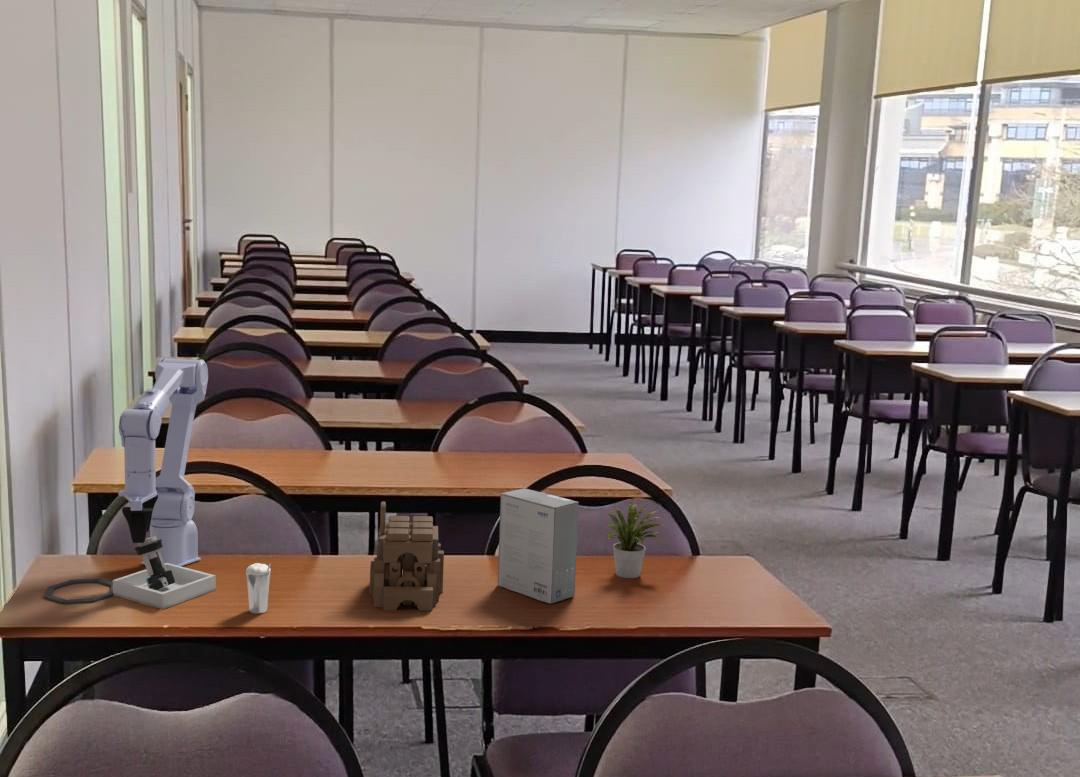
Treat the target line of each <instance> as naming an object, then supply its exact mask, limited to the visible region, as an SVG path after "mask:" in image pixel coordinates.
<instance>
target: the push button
mask: <svg viewBox="0 0 1080 777" xmlns="http://www.w3.org/2000/svg"><path fill="white" fill-rule="evenodd" d="M161 541H162V539H160V540H157V539H156V536H153V537H150V536H149V537H147V538H145V541H144V543H137V546H136V547H134V548H133V549H134V551H136V554H137V556H141V557H142V559H143V561H144V563H145V570H146V569H147V572H148V574H147V575H148V576H150V577H149V578H147V579H146V582H147V585H146V586H148V588H149V589H153V590H158V589H160V588H163V587H165V586H168V585H170V584H173V583H175V580H174V577H173V574H172V571H171V570H169V571H165V570H166V569H167V568H165V565H164V562H163V559H162V556H161V553H160V548H162V547H163V545H162V542H161ZM143 587H145V586H143Z"/></svg>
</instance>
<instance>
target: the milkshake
mask: <svg viewBox="0 0 1080 777" xmlns="http://www.w3.org/2000/svg"><path fill="white" fill-rule="evenodd" d="M271 565H272V563H271V562H270V563H268V565H267V564H265V563H260V562H259V563H258V562H255V563H253V564H250V565H248V567H247V568H246V569H245V574H246V584H247V595H248V608H249V609H248V610H249V612H250V613H251V614H255V615H256V614H264V613H266V612H267V611H268V605H269V604H268V603H269V591H270V590H269V589H270V581H271V573H272V572H271Z"/></svg>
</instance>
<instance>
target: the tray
mask: <svg viewBox="0 0 1080 777" xmlns="http://www.w3.org/2000/svg"><path fill="white" fill-rule="evenodd" d="M164 565H165V568H167V569H166V570H165V571H169V570H171V571H172V574H173V577H174V580H175V583H173V584H170V585H168V586H165V587H163V588H160V589H158V590H153V589H149V588H148V586H146V585H147V582H146V579H147V578H149V577H150V576H148V575H147V574H148V572H147V569H146V568H145V569H143V570H140V571H137V572H134V573H131V574H128V575H125V576H122V577H118V578H115V579H113V580H112V582H113V593H114V596H116V597H118V598H122V599H125V600H130V601H133V602H136V603H139V604H143V605H146V606H150V607H154V608H157V609H159V610H165V609H167V608H170V607H173V606H176V605H179V604H181V603H184V602H187V601H190V600H192V599H195V598H197V597H200V596H203V595H205V594H209V593H211V592H213V591H216V586H217V584H216V582H217V581H216V580H217V578H216V577H217V576H216V574H211V573H207V572H204V571H201V570H195V569H192V568H188V567H184V566H178V565H174V564H170V563H164ZM143 586H145V587H143Z"/></svg>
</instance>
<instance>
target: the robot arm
mask: <svg viewBox="0 0 1080 777" xmlns="http://www.w3.org/2000/svg"><path fill="white" fill-rule="evenodd" d="M154 379H155V383H154V385H153V386H152V387H151V388H147V389H146V390H144V392H142V394H141V395H140V397H139V398H138V400H137V401H136V402H135V404H134V405H133V406H132V408H128V409H126V410H124V411H122V412H121V413H120V416H119V421H118V432H119V435H120V440H121V447H123V448H124V449H123V450H124V453H123V454H124V455H123V456H124V490H120V491H119V492H118V497H124V498H125V499H126V500H127V502H128V501H129V504H130V506H122V508H121V513H122V515H123V517H124V518H125V520H126V523H127V525H128V529H129V533H130V537H131V541H132V543H133V544H138V543H144V541H145V539H146V536H147V533H148V532H149V533H150V534H149V537H153V536H156V539H157V540H160V539H162V541H161V542H162V545H163V547H162V548H160V553H161V556H162V559H163V562H164V563H170V564H174V565H178V566H181V567H184V566H186V565H189V564H192V563H195V562H198V561H201V560H202V559H201V558H202V557H199V551H198V549H199V545H198V543H199V542H198V540H199V538H198V537H199V536H198V535H199V534H198V528H197V526H196V523H195V522H194V520H192V518H193V516H194V513H195V505H196V503H195V497H196V496H195V495H196V490H195V488H194V486H193V485H192V484H191V483H190V482H189V481H188V480H186V479H185V472H186V466H187V460H188V454H189V448H190V442H191V436H192V431H193V426H194V425H193V424H194V419H195V414H196V410H197V405H198V404H199V403H201V402H203V401H204V400H205V397H206V394H207V387H208V383H209V382H208V381H209V369H208V365H207V363H206V362H205V360H204V359H185V358H181V359H180V358H166V357H161V358H159V360H158V361H157V363H156V365H155V370H154ZM170 404H171V410H170V416H169V422H168V427H167V433H166V440H165V444H164V450H163V456H162V461H161V462H162V463H161V468H160V474H159V475H158V476H156V469H157V468H156V439H157V437H158V436H159V435H160V431H161V430H160V429H161V425H162V422H163V420H162V418H163V417H164V415H165V413H166V412H167V410H169V408H170ZM140 563H141V565H143V566H144V565H145V563H144V560H143V561H141V562H140Z"/></svg>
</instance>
